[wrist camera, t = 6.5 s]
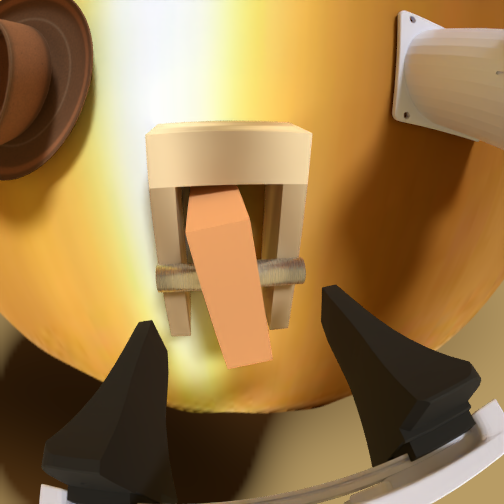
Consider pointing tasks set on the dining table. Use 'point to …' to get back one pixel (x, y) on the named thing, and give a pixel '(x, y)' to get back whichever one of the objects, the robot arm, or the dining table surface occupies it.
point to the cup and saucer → (40, 80)
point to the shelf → (229, 173)
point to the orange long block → (228, 272)
